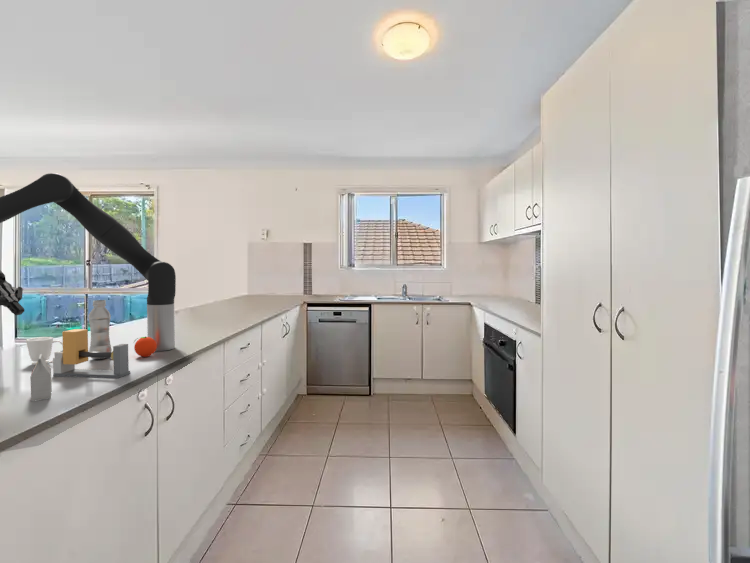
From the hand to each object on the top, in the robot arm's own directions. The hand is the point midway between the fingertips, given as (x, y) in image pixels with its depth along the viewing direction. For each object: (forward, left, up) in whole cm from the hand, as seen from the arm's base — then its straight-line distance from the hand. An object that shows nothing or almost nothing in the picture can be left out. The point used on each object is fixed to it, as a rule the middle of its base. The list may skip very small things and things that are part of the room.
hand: (20, 313), depth 123 cm
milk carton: (+30, +9, -18) cm, 36 cm away
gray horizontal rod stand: (+13, +18, -18) cm, 28 cm away
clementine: (-6, +32, -18) cm, 37 cm away
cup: (-11, +4, -18) cm, 22 cm away
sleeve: (+10, +14, -14) cm, 22 cm away
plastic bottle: (-9, +19, -18) cm, 28 cm away
